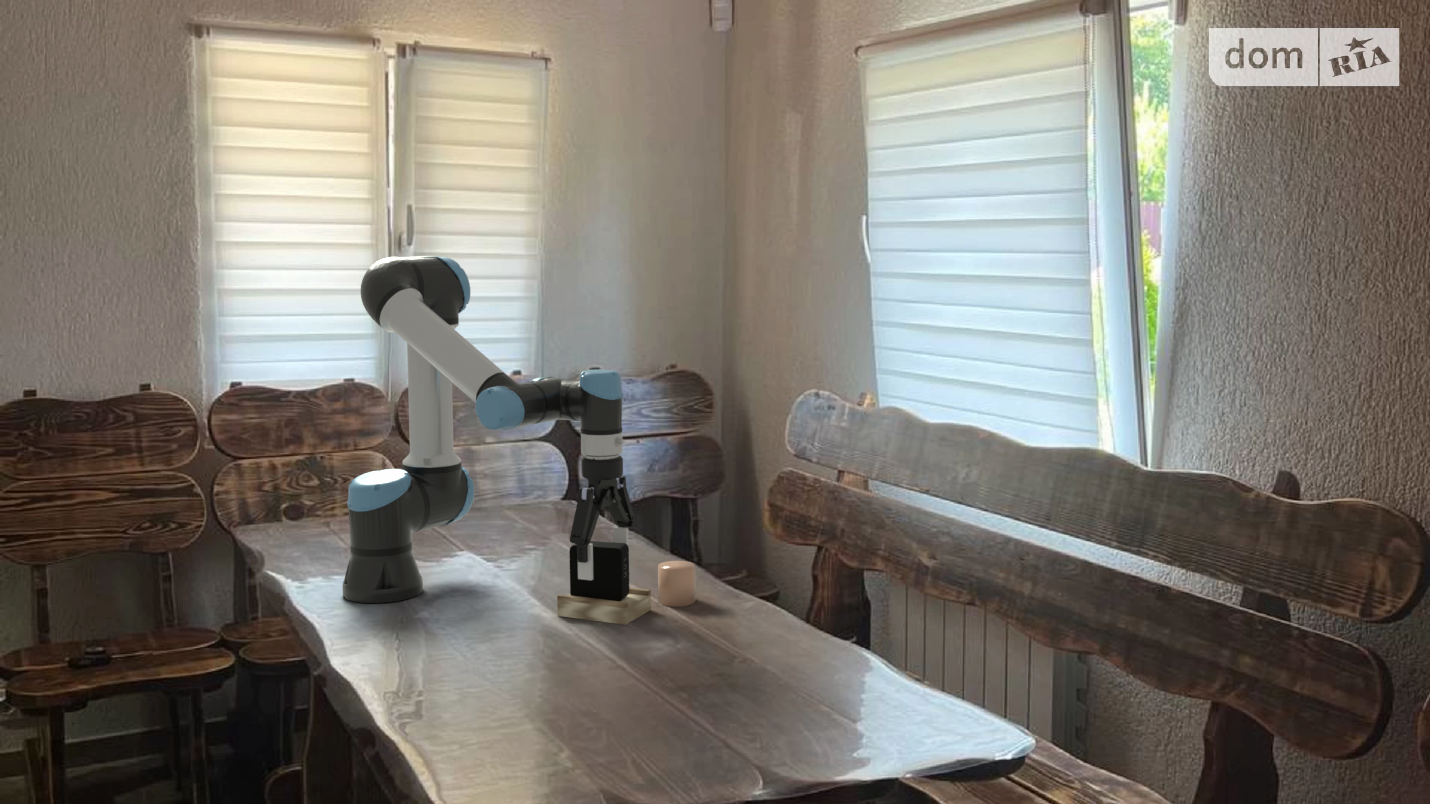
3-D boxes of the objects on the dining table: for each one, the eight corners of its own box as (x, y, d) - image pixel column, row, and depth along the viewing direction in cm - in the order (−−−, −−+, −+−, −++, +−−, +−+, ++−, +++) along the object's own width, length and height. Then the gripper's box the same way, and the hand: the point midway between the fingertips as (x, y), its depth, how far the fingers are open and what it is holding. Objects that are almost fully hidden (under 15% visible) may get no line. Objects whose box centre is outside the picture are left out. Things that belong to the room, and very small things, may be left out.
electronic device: (622, 602, 236) (621, 548, 234) (570, 598, 238) (569, 545, 237) (629, 596, 240) (628, 543, 238) (578, 592, 242) (577, 540, 241)
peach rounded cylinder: (652, 604, 245) (651, 567, 244) (668, 594, 252) (667, 559, 251) (685, 608, 243) (685, 571, 242) (701, 598, 249) (701, 562, 248)
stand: (557, 615, 238) (557, 595, 238) (584, 601, 247) (584, 581, 247) (625, 624, 232) (625, 604, 232) (650, 609, 242) (650, 589, 241)
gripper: (586, 468, 223) (588, 589, 226) (651, 446, 246) (652, 556, 249) (548, 465, 226) (551, 584, 229) (616, 443, 249) (617, 552, 252)
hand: (603, 570), depth 239 cm, fingers open, 13 cm apart
